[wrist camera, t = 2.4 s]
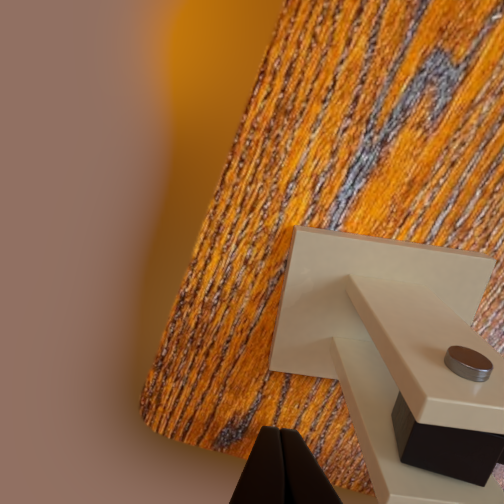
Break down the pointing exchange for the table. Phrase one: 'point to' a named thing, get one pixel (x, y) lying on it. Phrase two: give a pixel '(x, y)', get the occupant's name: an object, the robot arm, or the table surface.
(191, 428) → the table surface
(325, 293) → the switch bracket
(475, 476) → the switch lever
